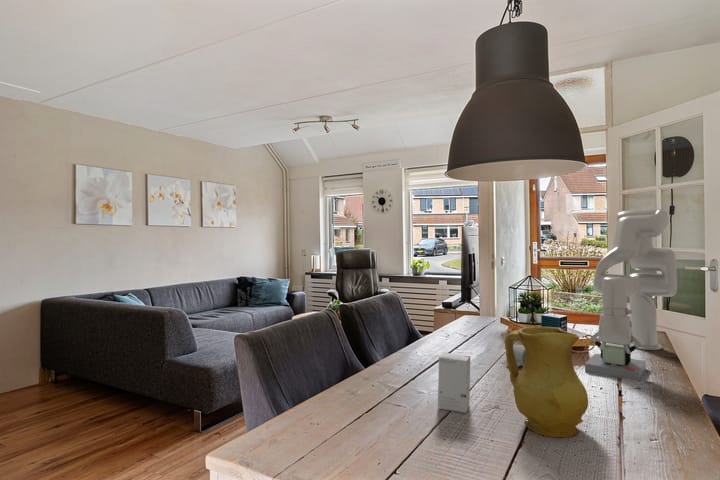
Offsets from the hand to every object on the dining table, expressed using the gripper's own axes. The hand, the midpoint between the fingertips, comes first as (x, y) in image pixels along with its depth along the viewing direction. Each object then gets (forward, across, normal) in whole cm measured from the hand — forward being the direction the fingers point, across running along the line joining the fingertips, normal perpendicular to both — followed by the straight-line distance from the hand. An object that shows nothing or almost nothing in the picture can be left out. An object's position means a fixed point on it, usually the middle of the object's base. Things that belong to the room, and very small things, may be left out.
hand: (615, 361), depth 149 cm
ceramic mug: (+4, +28, +15) cm, 32 cm away
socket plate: (+3, 0, 0) cm, 3 cm away
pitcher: (+3, +5, +59) cm, 59 cm away
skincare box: (+3, +29, +64) cm, 70 cm away
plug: (+3, 0, 0) cm, 3 cm away
